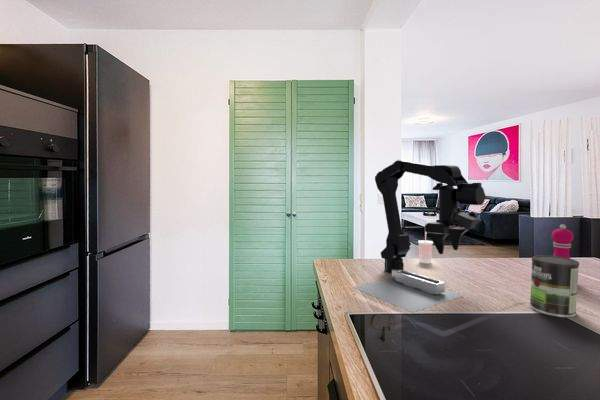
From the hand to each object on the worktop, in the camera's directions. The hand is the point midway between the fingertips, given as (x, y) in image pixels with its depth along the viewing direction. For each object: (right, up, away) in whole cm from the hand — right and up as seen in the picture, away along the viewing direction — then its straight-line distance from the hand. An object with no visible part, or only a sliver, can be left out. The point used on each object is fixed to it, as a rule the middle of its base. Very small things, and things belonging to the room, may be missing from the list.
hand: (448, 251), depth 108 cm
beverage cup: (+6, -10, +36) cm, 38 cm away
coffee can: (+21, -14, -17) cm, 30 cm away
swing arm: (-11, -11, 0) cm, 15 cm away
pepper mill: (+43, -12, +8) cm, 45 cm away
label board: (-15, -13, -4) cm, 20 cm away
